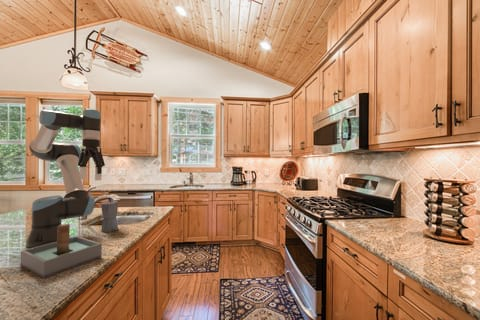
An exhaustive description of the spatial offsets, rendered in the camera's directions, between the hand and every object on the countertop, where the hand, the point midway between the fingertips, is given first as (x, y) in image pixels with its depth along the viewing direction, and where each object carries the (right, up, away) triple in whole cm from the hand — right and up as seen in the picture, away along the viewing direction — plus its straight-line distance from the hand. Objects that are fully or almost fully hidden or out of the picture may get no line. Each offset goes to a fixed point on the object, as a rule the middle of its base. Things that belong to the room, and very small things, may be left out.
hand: (90, 179), depth 112 cm
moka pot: (-3, -33, +21) cm, 39 cm away
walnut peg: (+3, -31, -22) cm, 38 cm away
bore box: (+3, -32, -22) cm, 39 cm away
